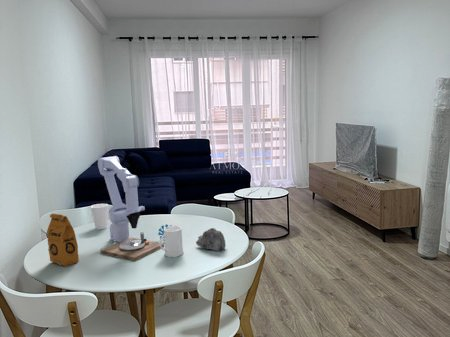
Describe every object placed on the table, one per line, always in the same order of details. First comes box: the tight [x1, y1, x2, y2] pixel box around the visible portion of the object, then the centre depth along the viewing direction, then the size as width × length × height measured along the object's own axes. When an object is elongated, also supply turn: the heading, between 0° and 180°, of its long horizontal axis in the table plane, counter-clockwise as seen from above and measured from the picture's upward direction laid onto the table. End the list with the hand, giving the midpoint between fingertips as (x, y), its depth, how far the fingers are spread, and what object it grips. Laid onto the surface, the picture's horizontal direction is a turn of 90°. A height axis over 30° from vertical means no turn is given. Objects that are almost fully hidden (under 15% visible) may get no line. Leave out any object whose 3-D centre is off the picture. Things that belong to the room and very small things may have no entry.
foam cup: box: [90, 203, 109, 230], centre depth 225 cm, size 10×9×13 cm
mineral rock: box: [195, 227, 226, 252], centre depth 186 cm, size 13×11×10 cm
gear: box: [157, 224, 173, 242], centre depth 201 cm, size 11×6×10 cm
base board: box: [99, 236, 165, 262], centre depth 188 cm, size 22×20×4 cm
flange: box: [119, 231, 150, 251], centre depth 188 cm, size 14×12×6 cm
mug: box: [159, 225, 184, 258], centre depth 179 cm, size 12×8×12 cm
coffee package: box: [46, 213, 80, 267], centre depth 174 cm, size 10×12×22 cm
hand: (134, 227), depth 191 cm, fingers closed
